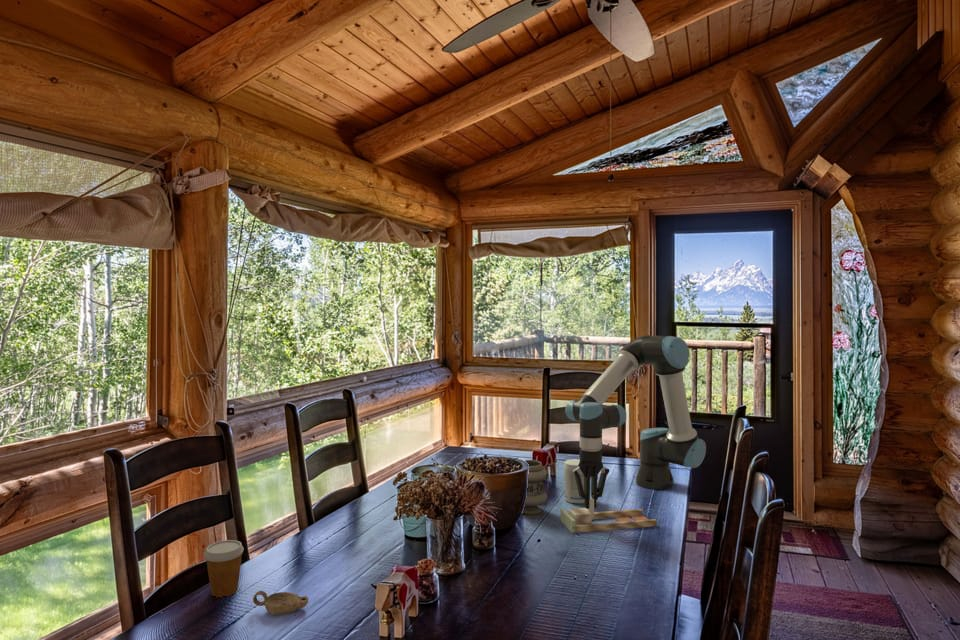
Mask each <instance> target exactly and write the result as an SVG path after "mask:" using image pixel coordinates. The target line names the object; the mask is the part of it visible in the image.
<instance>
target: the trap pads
mask: <svg viewBox="0 0 960 640" xmlns="http://www.w3.org/2000/svg"><path fill="white" fill-rule="evenodd" d="M613 519H615V520H616V522H623V521H636V520H649V519H648V517H646V516H645V515H644V514H643V515H638V516H630V517H627V516H625V517H614V518H613ZM632 519H633V520H632Z"/></svg>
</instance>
